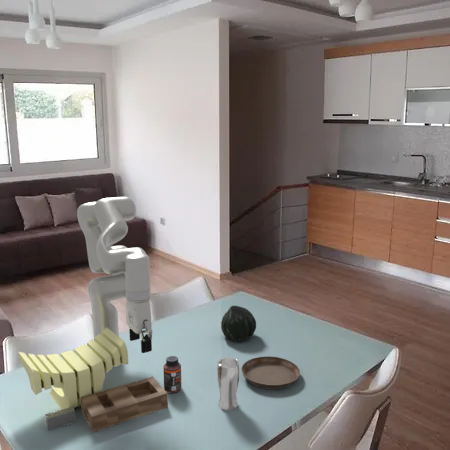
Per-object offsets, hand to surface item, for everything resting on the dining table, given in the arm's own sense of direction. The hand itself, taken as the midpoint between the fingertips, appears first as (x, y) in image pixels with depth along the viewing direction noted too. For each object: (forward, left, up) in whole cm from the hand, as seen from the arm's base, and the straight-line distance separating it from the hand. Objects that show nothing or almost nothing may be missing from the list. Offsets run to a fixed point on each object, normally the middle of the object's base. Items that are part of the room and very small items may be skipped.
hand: (140, 345), depth 151 cm
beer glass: (+15, +23, -20) cm, 34 cm away
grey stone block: (-3, -25, -20) cm, 32 cm away
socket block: (0, -6, -20) cm, 21 cm away
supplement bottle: (-3, +12, -20) cm, 24 cm away
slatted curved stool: (-15, -17, -20) cm, 31 cm away
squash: (-25, +53, -21) cm, 62 cm away
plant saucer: (+8, +45, -21) cm, 50 cm away
